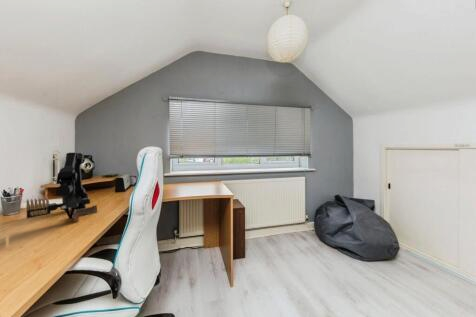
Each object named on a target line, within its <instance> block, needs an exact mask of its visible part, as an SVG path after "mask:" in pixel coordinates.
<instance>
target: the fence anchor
mask: <svg viewBox="0 0 476 317" xmlns="http://www.w3.org/2000/svg"><path fill="white" fill-rule="evenodd" d="M74 211H76V213H77V214H78V217H82V216H86V215H90V214H95V213H98V205H97V204H96V205H95V204H94V205H91V206H88V207H86V208H83V209H79V210H76V209H75V210H74Z"/></svg>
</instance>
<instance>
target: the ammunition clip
mask: <svg viewBox="0 0 476 317" xmlns="http://www.w3.org/2000/svg"><path fill="white" fill-rule="evenodd" d="M41 199H42V200H41ZM25 203H26V206H25V208H26V219H31V218H36V217H42V216H46V215H50V214H52V213H51V212H52V211H47V209H46V205H47V204H50V200H49V197H48V196H46V198H45V197H42V198H40V197H39V198H38V199H37V198H36V197H35V198H34V199H33V198H31V199H30V200H29V199H28V198H27V199H26V202H25Z"/></svg>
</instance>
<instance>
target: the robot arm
mask: <svg viewBox="0 0 476 317" xmlns="http://www.w3.org/2000/svg"><path fill="white" fill-rule="evenodd" d="M65 157H66V158H65V159H66V160H65V163H64V167H61V168H60V170H59V172H57V177H56V185H59V186H58V187H57V188H56V190H55V193H56V195H57V196H59V197H61V198H62V202H61V203H57V202H53V203H49V204H47V205H46V209H47V210H46V212H47V211H51V212H53V211H56V210H58V209H59V208H60V210H61V211H65V213H66V215H67V217H68V219H69V220H71V219H73V212H74V210H75V209H76V210H79V209H83V208H87V207H86V205H89V204H91V199H90V198H89V195H88V193H87V191H86V188H84V187H83V182H82V180H83V178H82V169H81V165H82V164H83V162H84V159H85V155H84V154H83V153H82V152H67V153H66V154H65Z"/></svg>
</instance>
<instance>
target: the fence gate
mask: <svg viewBox="0 0 476 317" xmlns="http://www.w3.org/2000/svg"><path fill="white" fill-rule="evenodd" d="M72 219H73V223H74V224H75V223H76V224H77V223H79V222H80V221H79V216H78V214H77V213H76V211H74V212H73V215H72Z"/></svg>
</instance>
